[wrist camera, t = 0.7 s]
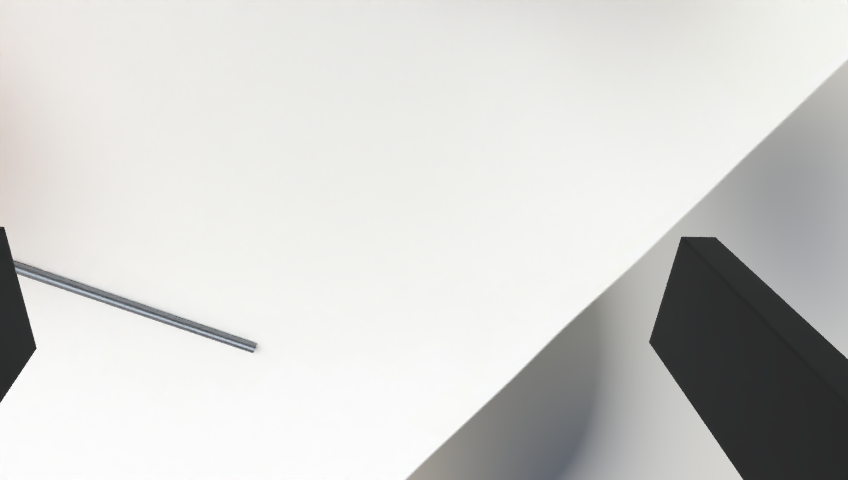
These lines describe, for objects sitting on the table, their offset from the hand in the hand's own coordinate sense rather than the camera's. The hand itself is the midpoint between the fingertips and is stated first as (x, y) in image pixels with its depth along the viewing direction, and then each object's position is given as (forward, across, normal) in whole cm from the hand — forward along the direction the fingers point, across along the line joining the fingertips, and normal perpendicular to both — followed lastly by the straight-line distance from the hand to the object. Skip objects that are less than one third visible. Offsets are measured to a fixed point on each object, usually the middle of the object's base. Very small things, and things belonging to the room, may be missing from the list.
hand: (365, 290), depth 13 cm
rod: (+26, -15, -17) cm, 35 cm away
